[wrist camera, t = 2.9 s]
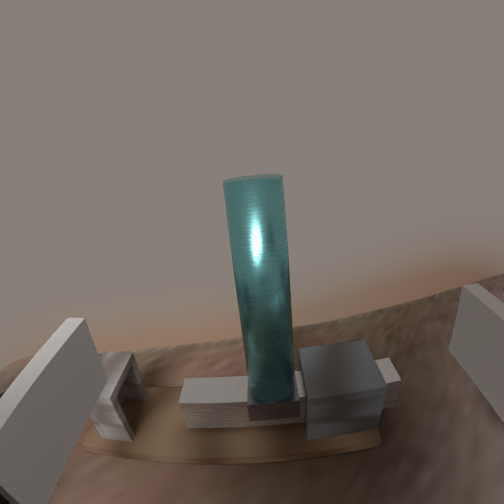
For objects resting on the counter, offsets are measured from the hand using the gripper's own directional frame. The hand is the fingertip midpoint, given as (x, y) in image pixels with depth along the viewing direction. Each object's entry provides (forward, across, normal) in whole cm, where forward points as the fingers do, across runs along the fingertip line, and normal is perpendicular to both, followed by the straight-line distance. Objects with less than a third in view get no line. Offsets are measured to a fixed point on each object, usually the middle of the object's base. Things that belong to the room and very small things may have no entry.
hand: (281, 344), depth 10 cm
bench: (+11, -5, -17) cm, 21 cm away
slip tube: (+11, +1, -15) cm, 19 cm away
